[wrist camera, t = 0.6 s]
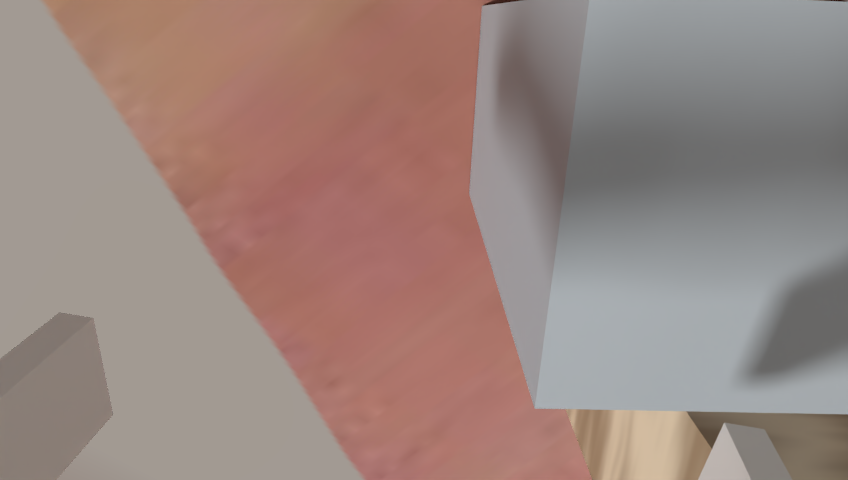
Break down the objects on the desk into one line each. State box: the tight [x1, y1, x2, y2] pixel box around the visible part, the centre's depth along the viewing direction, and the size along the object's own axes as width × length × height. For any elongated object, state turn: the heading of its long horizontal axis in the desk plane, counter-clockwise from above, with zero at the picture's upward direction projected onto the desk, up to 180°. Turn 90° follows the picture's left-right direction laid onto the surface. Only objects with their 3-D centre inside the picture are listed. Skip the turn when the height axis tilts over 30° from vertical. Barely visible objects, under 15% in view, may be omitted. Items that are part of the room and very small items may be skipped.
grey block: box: [469, 0, 848, 414], centre depth 22 cm, size 12×10×19 cm
